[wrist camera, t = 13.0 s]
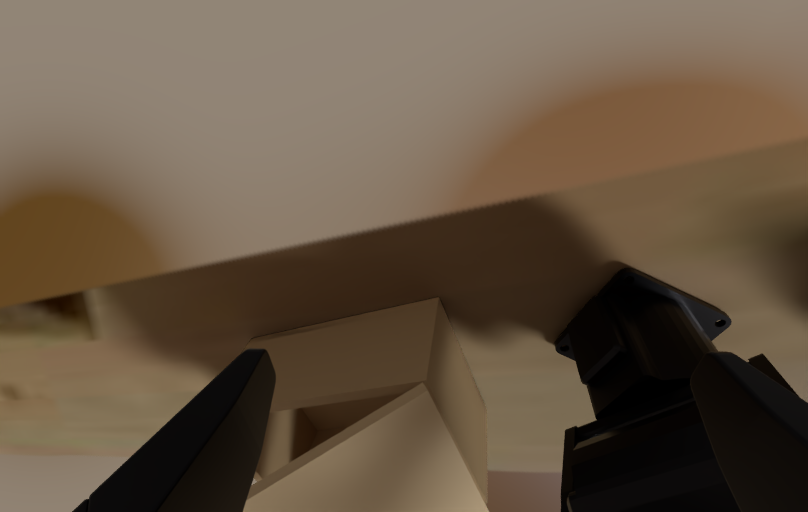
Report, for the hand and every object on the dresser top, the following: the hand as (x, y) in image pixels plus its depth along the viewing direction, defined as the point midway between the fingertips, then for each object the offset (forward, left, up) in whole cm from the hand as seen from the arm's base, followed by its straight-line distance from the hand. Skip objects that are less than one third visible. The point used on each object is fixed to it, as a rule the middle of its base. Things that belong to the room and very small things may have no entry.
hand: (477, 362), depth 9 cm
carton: (0, +17, -13) cm, 21 cm away
